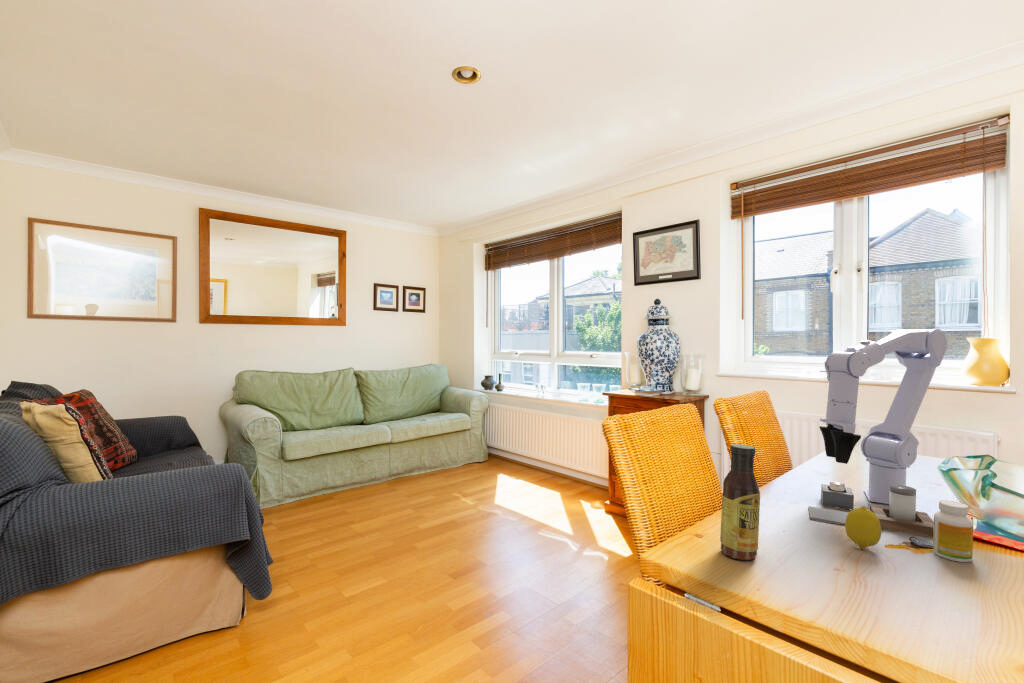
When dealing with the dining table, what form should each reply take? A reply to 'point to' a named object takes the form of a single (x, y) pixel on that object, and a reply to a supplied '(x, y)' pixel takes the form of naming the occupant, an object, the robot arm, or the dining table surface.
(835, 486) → the plunger button
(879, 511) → the walnut housing
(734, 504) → the sauce bottle
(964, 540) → the supplement bottle
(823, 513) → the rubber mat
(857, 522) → the lemon
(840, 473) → the dining table surface
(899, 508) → the cylinder
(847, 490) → the plunger collar
